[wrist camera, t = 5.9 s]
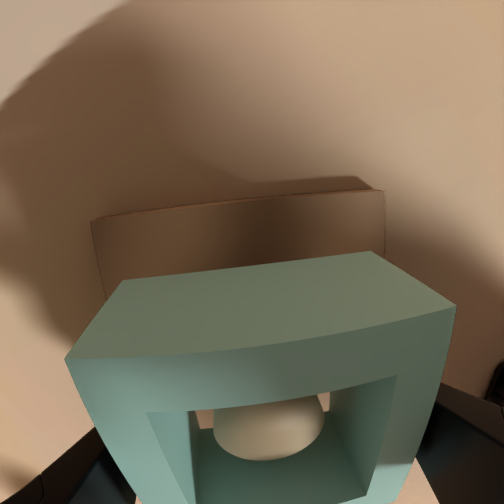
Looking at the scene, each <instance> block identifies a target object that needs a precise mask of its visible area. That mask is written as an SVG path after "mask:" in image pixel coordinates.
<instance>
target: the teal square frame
mask: <svg viewBox="0 0 504 504" xmlns="http://www.w3.org/2000/svg"><path fill="white" fill-rule="evenodd" d="M456 309H457V305H455V304H454V303H452V302H451V301H449V300H448V299H446V298H445V297H443V296H442V295H440V294H439V293H437V292H436V291H434V290H433V289H431V288H430V287H428V286H426V285H425V284H423V283H422V282H420V281H419V280H417V279H415V278H414V277H412V276H411V275H409V274H408V273H406V272H404V271H403V270H401V269H400V268H398V267H396V266H395V265H393V264H391V263H390V262H388V261H387V260H385V259H383V258H382V257H380V256H378V255H377V254H375V253H373V252H372V251H365V252H357V253H350V254H342V255H334V256H326V257H318V258H310V259H302V260H294V261H286V262H278V263H270V264H261V265H253V266H244V267H236V268H227V269H219V270H210V271H201V272H193V273H184V274H175V275H166V276H157V277H148V278H138V279H129V280H123V281H122V282H121V283H120V285H119V286H118V287H117V288H116V290H115V291H114V292H113V294H112V295H111V296H110V297H109V299H108V300H107V301H106V303H105V304H104V305H103V306H102V308H101V309H100V310H99V312H98V313H97V314H96V316H95V317H94V318H93V320H92V321H91V322H90V324H89V325H88V326H87V328H86V329H85V331H84V332H83V333H82V335H81V336H80V337H79V339H78V340H77V342H76V343H75V344H74V346H73V347H72V349H71V350H70V351H69V353H68V354H67V356H66V357H65V358H64V359H65V362H66V364H67V367H68V369H69V372H70V374H71V376H72V379H73V381H74V383H75V386H76V388H77V390H78V392H79V394H80V397H81V399H82V401H83V403H84V405H85V407H86V409H87V411H88V413H89V415H90V417H91V419H92V421H93V423H94V425H95V427H96V429H97V431H98V433H99V434H100V436H101V438H102V440H103V442H104V444H105V445H106V447H107V449H108V451H109V452H110V454H111V456H112V457H113V459H114V461H115V462H116V464H117V466H118V467H119V469H120V471H121V472H122V474H123V475H124V477H125V478H126V480H127V481H128V483H129V485H130V486H131V488H132V489H133V490H134V492H135V493H136V495H137V496H138V498H139V499H140V501H141V502H142V503H143V504H388V503H391V502H394V501H395V500H396V498H397V496H398V494H399V492H400V490H401V488H402V486H403V484H404V481H405V479H406V477H407V475H408V473H409V470H410V468H411V466H412V463H413V461H414V458H415V456H416V453H417V451H418V448H419V446H420V443H421V441H422V438H423V435H424V432H425V430H426V427H427V424H428V421H429V418H430V415H431V412H432V409H433V406H434V403H435V399H436V396H437V393H438V389H439V386H440V382H441V378H442V375H443V371H444V367H445V363H446V359H447V354H448V350H449V345H450V341H451V336H452V331H453V326H454V320H455V315H456ZM326 392H330V402H329V411H325V412H324V425H323V428H322V430H321V432H320V433H319V435H318V436H317V438H316V439H315V440H314V441H313V442H312V443H311V444H309V445H308V446H307V447H305V448H304V449H302V450H301V451H299V452H297V453H295V454H293V455H290V456H287V457H284V458H280V459H275V460H267V461H255V460H247V459H243V458H240V457H237V456H234V455H232V454H230V453H229V452H227V451H225V450H224V449H223V448H222V447H221V446H220V445H219V444H218V442H217V440H216V438H215V436H214V431H213V428H205V429H200V426H199V422H198V419H197V415H196V412H195V410H208V409H219V408H230V407H239V406H247V405H255V404H263V403H270V402H276V401H283V400H289V399H295V398H300V397H306V396H311V395H316V394H321V393H326Z"/></svg>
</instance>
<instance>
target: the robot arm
mask: <svg viewBox="0 0 504 504" xmlns="http://www.w3.org/2000/svg"><path fill="white" fill-rule="evenodd" d="M415 457H416V459H417V461H418V463H419V464H420V466H421V468H422V470H423V472H424V474H425V476H426V478H427V480H428V482H429V484H430V486H431V488H432V490H433V492H434V494H435V496H436V498H437V500H438V502H439V504H504V362H503V363H501V364H500V365H499V366H498V368H497V369H496V371H495V374H494V377H493V380H492V382H491V385H490V388H489V391H488V393H487V396H486V398H485V400H483V399H480V398H478V397H475V396H473V395H470V394H468V393H465V392H463V391H460V390H458V389H455V388H453V387H451V386H448V385H446V384H443V383H441V382H440V386H439V389H438V393H437V396H436V399H435V403H434V406H433V409H432V412H431V415H430V418H429V421H428V424H427V427H426V430H425V432H424V435H423V438H422V441H421V443H420V446H419V448H418V451H417V453H416V456H415ZM135 501H136V493H135V492H134V490H133V489H132V488H131V486H130V485H129V483H128V481H127V480H126V478H125V477H124V475H123V474H122V472H121V471H120V469H119V467H118V466H117V464H116V462H115V461H114V459H113V457H112V456H111V454H110V452H109V451H108V449H107V447H106V445H105V444H104V442H103V440H102V438H101V436H100V434H99V433H98V431H97V429H96V427H94V428H92V429H91V430H90V431H89V432H88V433H87V434H86V435H84V436H83V437H82V438H81V439H80V440H79V441H78V442H76V443H75V444H74V445H73V446H72V447H71V448H70V449H68V450H67V451H66V452H65V453H64V454H63V455H61V456H60V457H59V458H58V459H57V460H56V461H54V462H53V463H52V464H51V465H50V466H49V467H47V468H46V469H45V470H44V471H43V472H42V473H41V474H39V475H38V476H37V477H35V478H34V479H33V480H32V481H31V482H29V483H28V484H27V485H26V486H24V487H23V488H22V489H21V490H19V491H18V492H16V493H15V494H13V495H12V496H11V497H9V498H8V499H6V500H5V501H3V502H1V503H0V504H135Z"/></svg>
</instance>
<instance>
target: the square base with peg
mask: <svg viewBox="0 0 504 504" xmlns="http://www.w3.org/2000/svg"><path fill="white" fill-rule="evenodd" d="M90 224H91V230H92V235H93V241H94V246H95V251H96V256H97V261H98V265H99V270H100V274H101V279H102V283H103V287H104V291H105V295H106V299H107V300H108V299H109V297H110V296H111V295H112V294H113V292H114V291H115V290H116V288H117V287H118V286H119V285H120V283H121V282H122V281H123V280H129V279H138V278H148V277H157V276H166V275H175V274H184V273H193V272H201V271H210V270H219V269H227V268H236V267H244V266H253V265H261V264H270V263H278V262H286V261H294V260H302V259H310V258H318V257H326V256H334V255H342V254H350V253H357V252H365V251H372V252H373V253H375V254H377V255H378V256H380V257H382V258H383V259H384V244H385V207H384V191H381V190H376V189H366V190H349V191H333V192H319V193H306V194H294V195H282V196H271V197H260V198H250V199H240V200H231V201H222V202H213V203H204V204H196V205H188V206H180V207H172V208H164V209H157V210H150V211H142V212H135V213H129V214H122V215H115V216H109V217H103V218H98V219H96V220H94V221H91V222H90ZM329 402H330V392H326V393H321V394H316V395H311V396H306V397H300V398H295V399H289V400H283V401H276V402H270V403H263V404H255V405H247V406H239V407H230V408H219V409H208V410H195V412H196V415H197V419H198V422H199V426H200V429H205V428H213V431H214V436H215V438H216V440H217V442H218V444H219V445H220V446H221V447H222V448H223V449H224V450H225V451H227V452H229V453H230V454H232V455H234V456H237V457H240V458H243V459H247V460H255V461H267V460H275V459H280V458H284V457H287V456H290V455H293V454H295V453H297V452H299V451H301V450H302V449H304V448H305V447H307V446H308V445H309V444H311V443H312V442H313V441H314V440H315V439H316V438H317V436H318V435H319V433H320V432H321V430H322V428H323V425H324V412H325V411H329Z"/></svg>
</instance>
